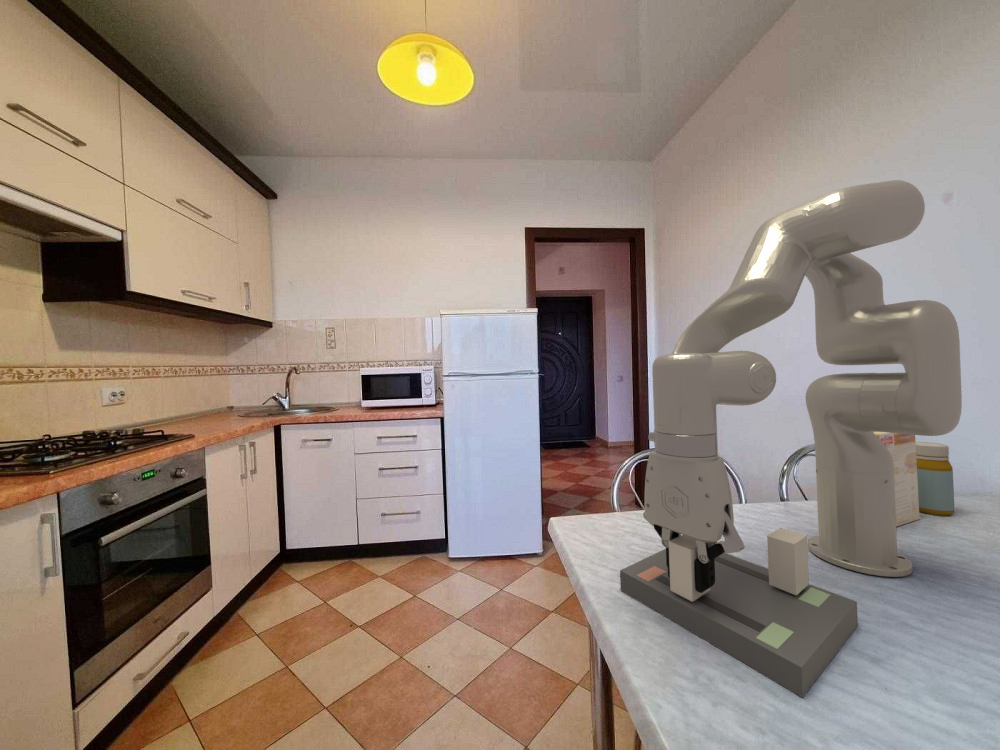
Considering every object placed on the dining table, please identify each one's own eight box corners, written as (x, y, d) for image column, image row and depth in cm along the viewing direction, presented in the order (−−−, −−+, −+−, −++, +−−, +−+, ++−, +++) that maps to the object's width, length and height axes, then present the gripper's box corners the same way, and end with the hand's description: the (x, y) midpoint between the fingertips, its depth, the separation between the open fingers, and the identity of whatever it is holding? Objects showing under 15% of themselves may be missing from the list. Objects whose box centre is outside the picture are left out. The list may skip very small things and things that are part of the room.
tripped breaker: (688, 579, 50) (686, 532, 50) (710, 589, 48) (708, 540, 48) (670, 590, 48) (668, 541, 48) (692, 601, 45) (690, 549, 45)
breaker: (782, 574, 51) (780, 527, 51) (809, 583, 48) (807, 535, 48) (769, 584, 48) (767, 535, 49) (796, 595, 46) (794, 544, 46)
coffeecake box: (876, 508, 82) (873, 424, 82) (922, 519, 75) (917, 427, 75) (837, 519, 77) (833, 429, 77) (882, 532, 70) (877, 433, 70)
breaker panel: (687, 555, 63) (686, 538, 63) (857, 625, 45) (856, 601, 45) (620, 590, 54) (619, 570, 54) (802, 697, 35) (801, 666, 35)
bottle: (965, 517, 76) (962, 447, 76) (925, 516, 77) (922, 446, 77) (933, 505, 82) (930, 441, 83) (896, 504, 84) (894, 441, 84)
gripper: (617, 440, 53) (621, 564, 53) (738, 459, 39) (744, 628, 39) (648, 434, 57) (653, 550, 57) (768, 450, 43) (774, 603, 43)
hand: (690, 580), depth 48 cm, fingers closed on tripped breaker, 3 cm apart
